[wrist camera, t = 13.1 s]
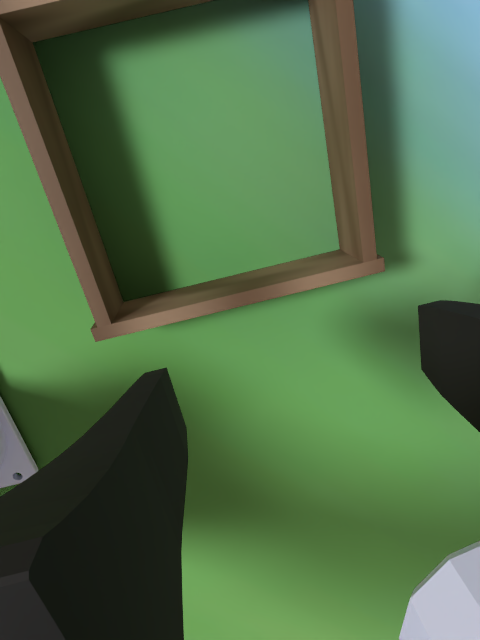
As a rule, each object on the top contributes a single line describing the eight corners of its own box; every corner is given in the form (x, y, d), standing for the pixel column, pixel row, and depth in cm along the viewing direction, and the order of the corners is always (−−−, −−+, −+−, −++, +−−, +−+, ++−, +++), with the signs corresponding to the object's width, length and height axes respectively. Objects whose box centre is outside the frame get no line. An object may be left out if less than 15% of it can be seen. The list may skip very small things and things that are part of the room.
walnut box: (109, 317, 20) (95, 341, 17) (3, 29, 15) (-40, -2, 13) (358, 256, 20) (385, 271, 17) (325, -45, 16) (353, -92, 13)
